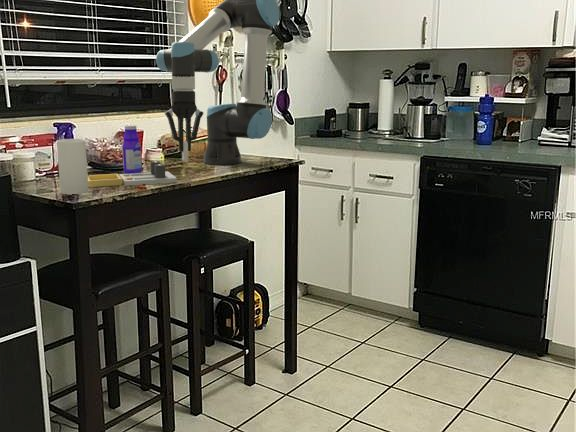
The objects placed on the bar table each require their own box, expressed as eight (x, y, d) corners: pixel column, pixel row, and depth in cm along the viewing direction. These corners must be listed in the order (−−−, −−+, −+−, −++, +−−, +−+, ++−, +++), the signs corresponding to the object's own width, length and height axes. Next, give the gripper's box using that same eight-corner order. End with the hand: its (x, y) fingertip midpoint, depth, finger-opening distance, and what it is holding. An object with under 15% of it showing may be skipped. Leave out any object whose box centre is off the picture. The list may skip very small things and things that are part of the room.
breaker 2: (163, 175, 212) (163, 163, 211) (165, 177, 209) (164, 165, 208) (154, 176, 211) (154, 164, 210) (156, 177, 208) (155, 165, 207)
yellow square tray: (117, 179, 214) (117, 173, 214) (122, 184, 205) (121, 178, 204) (85, 181, 210) (85, 175, 210) (88, 187, 201) (88, 180, 200)
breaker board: (168, 175, 222) (167, 169, 222) (176, 182, 210) (176, 176, 209) (119, 178, 216) (118, 172, 216) (125, 185, 203) (124, 179, 203)
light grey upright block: (93, 192, 193) (90, 140, 190) (69, 196, 187) (65, 142, 184) (79, 188, 199) (76, 138, 195) (55, 192, 193) (51, 140, 189)
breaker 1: (159, 172, 218) (159, 160, 217) (161, 173, 216) (160, 162, 215) (150, 173, 217) (150, 161, 216) (152, 174, 215) (151, 162, 214)
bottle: (136, 175, 221) (133, 126, 217) (121, 175, 222) (118, 126, 218) (144, 172, 228) (142, 124, 224) (130, 171, 229) (127, 124, 225)
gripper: (200, 89, 213) (201, 158, 218) (161, 89, 208) (163, 160, 213) (205, 90, 206) (206, 161, 211) (166, 90, 201) (168, 163, 206)
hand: (185, 161), depth 212 cm, fingers closed
